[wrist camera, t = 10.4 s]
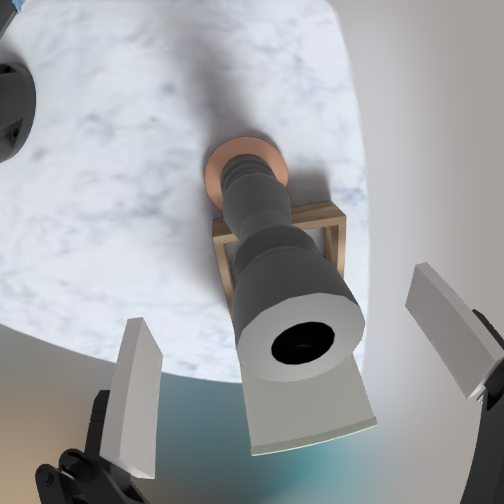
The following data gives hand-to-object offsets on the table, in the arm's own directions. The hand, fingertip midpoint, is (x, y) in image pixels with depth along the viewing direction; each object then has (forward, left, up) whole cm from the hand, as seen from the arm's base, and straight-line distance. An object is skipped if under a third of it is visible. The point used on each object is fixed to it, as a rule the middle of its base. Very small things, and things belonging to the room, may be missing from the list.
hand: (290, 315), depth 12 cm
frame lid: (+25, +3, -18) cm, 31 cm away
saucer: (0, 0, -25) cm, 25 cm away
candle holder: (0, 0, -24) cm, 24 cm away
